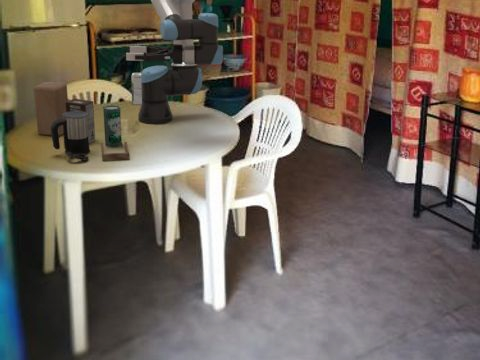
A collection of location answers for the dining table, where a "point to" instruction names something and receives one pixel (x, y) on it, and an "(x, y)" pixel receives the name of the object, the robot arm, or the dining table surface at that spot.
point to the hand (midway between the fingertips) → (128, 53)
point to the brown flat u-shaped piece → (115, 154)
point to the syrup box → (136, 89)
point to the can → (112, 126)
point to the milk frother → (72, 134)
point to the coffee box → (85, 107)
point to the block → (50, 105)
